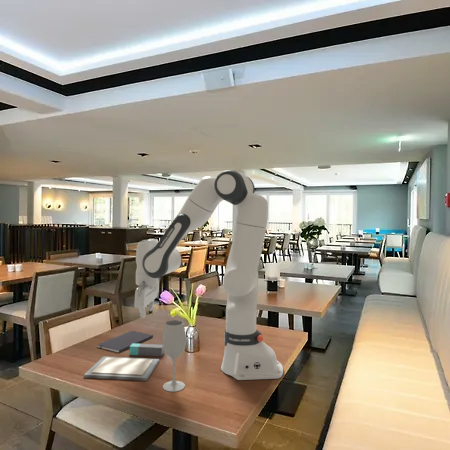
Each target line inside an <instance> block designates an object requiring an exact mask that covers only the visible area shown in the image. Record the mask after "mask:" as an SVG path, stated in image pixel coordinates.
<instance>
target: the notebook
mask: <svg viewBox="0 0 450 450" xmlns="http://www.w3.org/2000/svg"><path fill="white" fill-rule="evenodd" d="M153 338H154V335H153V334H149V333H144V332H139V331H137V330H136V331H135V330H130V331H128V332H125V333H122V334H120V335H118V336H115V337H113V338H110V339H108V340H105V341H102V342H101V343H98V344H97V348H99V349H104V350H107V351H110V352H115V353H119V354H120V353H122V352H124V351H127V350H130V346H131V345H132V344H133V343H135V344H143V343H144V342H146V341H149V340H151V339H153Z"/></svg>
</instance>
